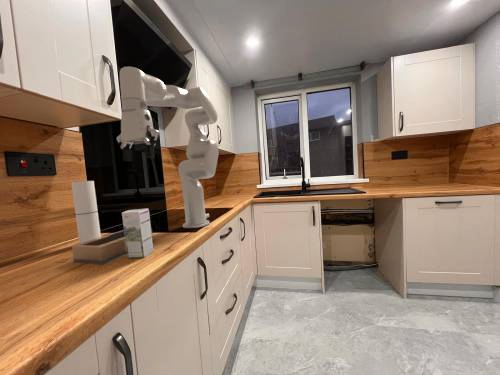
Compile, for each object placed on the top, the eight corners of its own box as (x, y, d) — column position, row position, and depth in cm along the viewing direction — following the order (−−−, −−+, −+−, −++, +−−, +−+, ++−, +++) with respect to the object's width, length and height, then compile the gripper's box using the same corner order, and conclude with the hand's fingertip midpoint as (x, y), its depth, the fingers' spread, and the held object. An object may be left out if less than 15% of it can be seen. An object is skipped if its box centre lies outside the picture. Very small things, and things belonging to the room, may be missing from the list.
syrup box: (154, 251, 73) (149, 207, 72) (144, 258, 67) (138, 210, 66) (138, 252, 74) (133, 208, 73) (126, 259, 68) (120, 212, 67)
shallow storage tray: (127, 241, 88) (126, 229, 88) (153, 242, 84) (152, 229, 83) (73, 261, 69) (71, 246, 69) (103, 264, 65) (101, 247, 65)
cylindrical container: (75, 247, 85) (66, 182, 84) (85, 242, 92) (77, 182, 91) (96, 245, 87) (88, 181, 85) (104, 239, 94) (97, 180, 92)
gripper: (164, 106, 74) (167, 157, 75) (125, 115, 80) (129, 162, 81) (146, 99, 67) (150, 155, 68) (105, 109, 73) (109, 161, 73)
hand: (139, 159), depth 74 cm, fingers open, 9 cm apart
